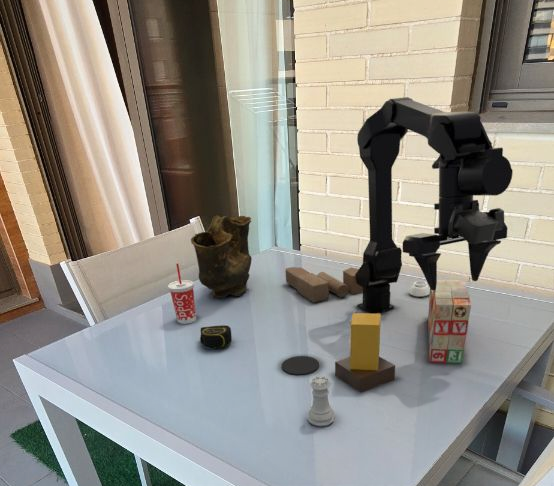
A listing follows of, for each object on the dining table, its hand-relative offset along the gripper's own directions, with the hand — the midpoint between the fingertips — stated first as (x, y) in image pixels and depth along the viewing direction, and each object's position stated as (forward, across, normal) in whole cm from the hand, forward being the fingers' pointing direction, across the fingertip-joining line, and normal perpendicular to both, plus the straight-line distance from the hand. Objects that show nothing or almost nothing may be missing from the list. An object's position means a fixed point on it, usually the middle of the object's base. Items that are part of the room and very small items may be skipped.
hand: (454, 285), depth 101 cm
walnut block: (+14, -19, +2) cm, 24 cm away
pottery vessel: (+5, -28, +60) cm, 66 cm away
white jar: (+10, +14, +32) cm, 36 cm away
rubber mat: (+13, -28, +12) cm, 33 cm away
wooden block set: (+7, -4, +48) cm, 49 cm away
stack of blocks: (+13, +3, +8) cm, 16 cm away
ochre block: (+11, -19, +1) cm, 22 cm away
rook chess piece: (+16, -33, -8) cm, 37 cm away
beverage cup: (+7, -43, +46) cm, 64 cm away
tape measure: (+10, -40, +30) cm, 51 cm away
